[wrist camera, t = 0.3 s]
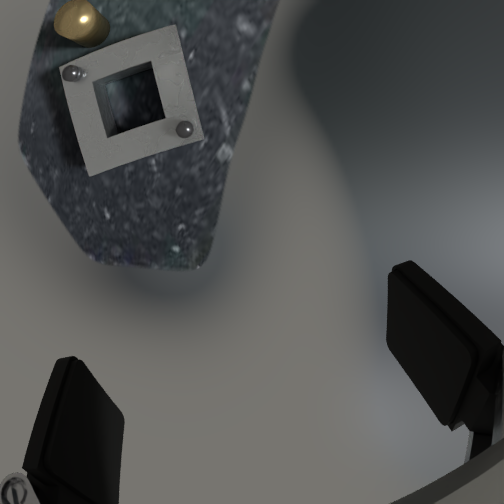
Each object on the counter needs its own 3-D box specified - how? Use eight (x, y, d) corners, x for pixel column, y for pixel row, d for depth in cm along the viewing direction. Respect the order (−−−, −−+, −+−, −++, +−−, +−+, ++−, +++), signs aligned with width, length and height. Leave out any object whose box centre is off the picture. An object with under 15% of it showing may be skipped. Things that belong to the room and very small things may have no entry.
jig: (75, 71, 28) (52, 65, 22) (177, 35, 28) (174, 20, 23) (102, 167, 33) (84, 180, 27) (203, 135, 34) (205, 140, 28)
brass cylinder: (74, 24, 25) (51, 10, 19) (106, 10, 25) (89, -8, 19) (80, 52, 27) (57, 43, 21) (112, 39, 27) (95, 25, 21)
